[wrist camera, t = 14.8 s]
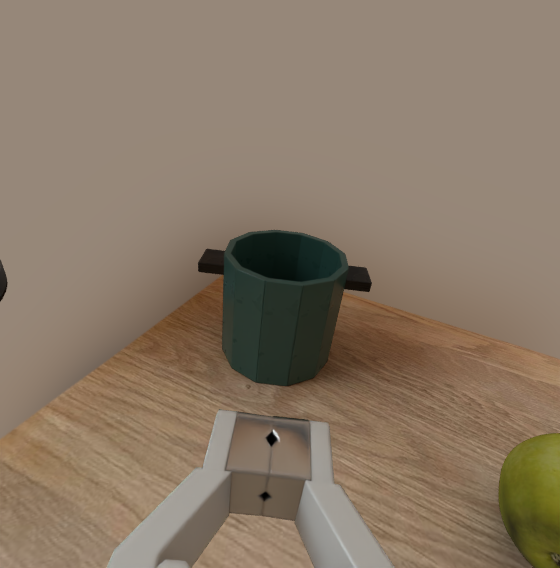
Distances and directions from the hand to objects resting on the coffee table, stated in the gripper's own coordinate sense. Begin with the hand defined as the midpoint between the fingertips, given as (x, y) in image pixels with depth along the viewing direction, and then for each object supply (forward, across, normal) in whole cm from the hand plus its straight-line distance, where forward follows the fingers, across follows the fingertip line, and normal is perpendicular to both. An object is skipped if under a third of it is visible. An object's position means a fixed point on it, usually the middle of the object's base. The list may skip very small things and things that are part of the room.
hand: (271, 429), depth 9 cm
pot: (+22, 0, +16) cm, 27 cm away
